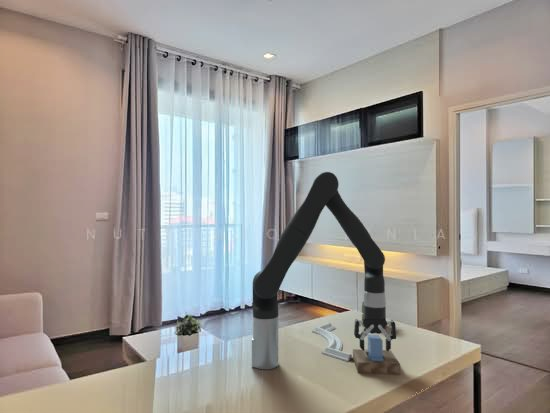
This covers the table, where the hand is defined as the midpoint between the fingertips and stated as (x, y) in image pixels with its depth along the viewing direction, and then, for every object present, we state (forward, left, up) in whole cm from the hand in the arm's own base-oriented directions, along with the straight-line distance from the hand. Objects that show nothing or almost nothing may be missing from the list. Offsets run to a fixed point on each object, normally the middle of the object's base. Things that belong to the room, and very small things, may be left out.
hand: (375, 350), depth 123 cm
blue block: (0, 0, -6) cm, 6 cm away
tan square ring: (0, 0, -6) cm, 6 cm away
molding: (-12, +24, -6) cm, 28 cm away
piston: (+9, +48, -6) cm, 49 cm away
